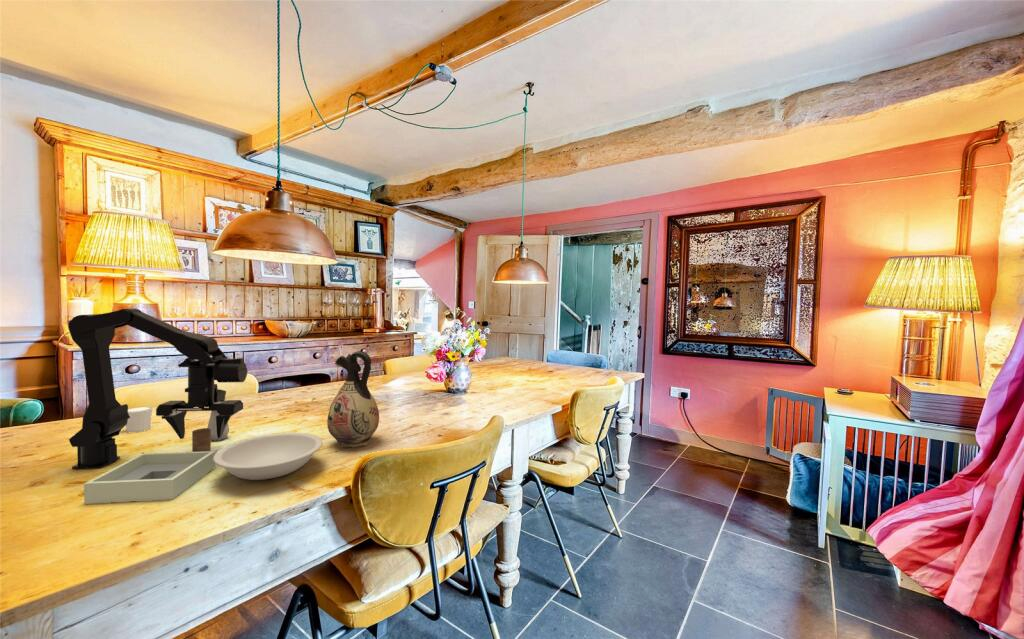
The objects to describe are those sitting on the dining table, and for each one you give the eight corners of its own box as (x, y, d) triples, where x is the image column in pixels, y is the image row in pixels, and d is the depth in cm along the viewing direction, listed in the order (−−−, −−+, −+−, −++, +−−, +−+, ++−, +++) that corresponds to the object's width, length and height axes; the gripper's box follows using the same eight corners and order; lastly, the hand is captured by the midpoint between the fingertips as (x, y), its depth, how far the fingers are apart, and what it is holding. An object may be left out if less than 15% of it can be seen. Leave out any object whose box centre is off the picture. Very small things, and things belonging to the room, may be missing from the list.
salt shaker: (219, 442, 119) (219, 401, 119) (201, 441, 120) (201, 400, 119) (233, 436, 125) (233, 396, 125) (216, 435, 125) (216, 395, 125)
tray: (84, 504, 83) (84, 483, 83) (142, 470, 99) (142, 453, 99) (172, 499, 86) (172, 479, 86) (215, 467, 102) (215, 451, 102)
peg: (188, 461, 105) (188, 433, 105) (197, 456, 109) (197, 428, 109) (205, 461, 106) (205, 432, 105) (213, 455, 110) (213, 428, 109)
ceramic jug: (314, 447, 118) (316, 350, 117) (351, 432, 133) (352, 346, 131) (360, 456, 113) (362, 355, 111) (392, 439, 127) (394, 349, 126)
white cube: (118, 431, 125) (118, 410, 125) (143, 425, 132) (143, 405, 132) (132, 434, 123) (132, 413, 123) (157, 428, 130) (157, 407, 130)
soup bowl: (231, 459, 108) (231, 436, 107) (326, 450, 116) (326, 429, 116) (195, 502, 85) (196, 472, 85) (316, 487, 94) (316, 460, 93)
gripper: (252, 377, 116) (252, 427, 117) (182, 376, 113) (181, 429, 113) (233, 384, 105) (232, 441, 106) (154, 385, 102) (154, 443, 102)
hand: (201, 438), depth 107 cm, fingers open, 9 cm apart
